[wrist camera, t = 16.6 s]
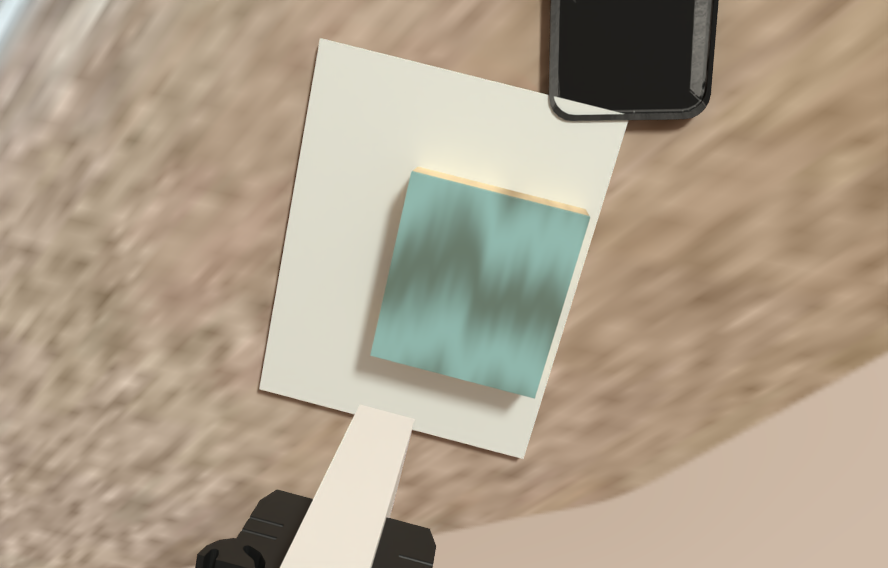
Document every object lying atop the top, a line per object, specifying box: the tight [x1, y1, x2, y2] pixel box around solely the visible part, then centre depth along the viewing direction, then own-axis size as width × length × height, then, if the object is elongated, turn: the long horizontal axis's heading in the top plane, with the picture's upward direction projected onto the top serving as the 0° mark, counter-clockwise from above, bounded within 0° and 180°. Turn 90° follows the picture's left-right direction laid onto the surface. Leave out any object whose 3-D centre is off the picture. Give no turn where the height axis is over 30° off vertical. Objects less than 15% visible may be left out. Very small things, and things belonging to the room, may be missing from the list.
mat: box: [259, 38, 628, 459], centre depth 37 cm, size 16×20×1 cm
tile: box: [370, 167, 590, 399], centre depth 36 cm, size 10×2×9 cm
